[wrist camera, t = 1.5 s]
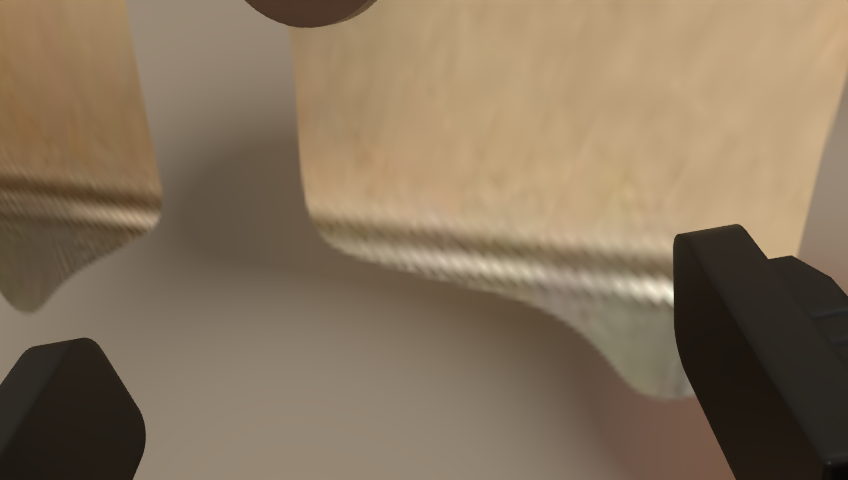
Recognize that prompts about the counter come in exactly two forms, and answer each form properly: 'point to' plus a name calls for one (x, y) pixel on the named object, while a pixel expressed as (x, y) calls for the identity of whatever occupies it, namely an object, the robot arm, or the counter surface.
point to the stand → (310, 11)
